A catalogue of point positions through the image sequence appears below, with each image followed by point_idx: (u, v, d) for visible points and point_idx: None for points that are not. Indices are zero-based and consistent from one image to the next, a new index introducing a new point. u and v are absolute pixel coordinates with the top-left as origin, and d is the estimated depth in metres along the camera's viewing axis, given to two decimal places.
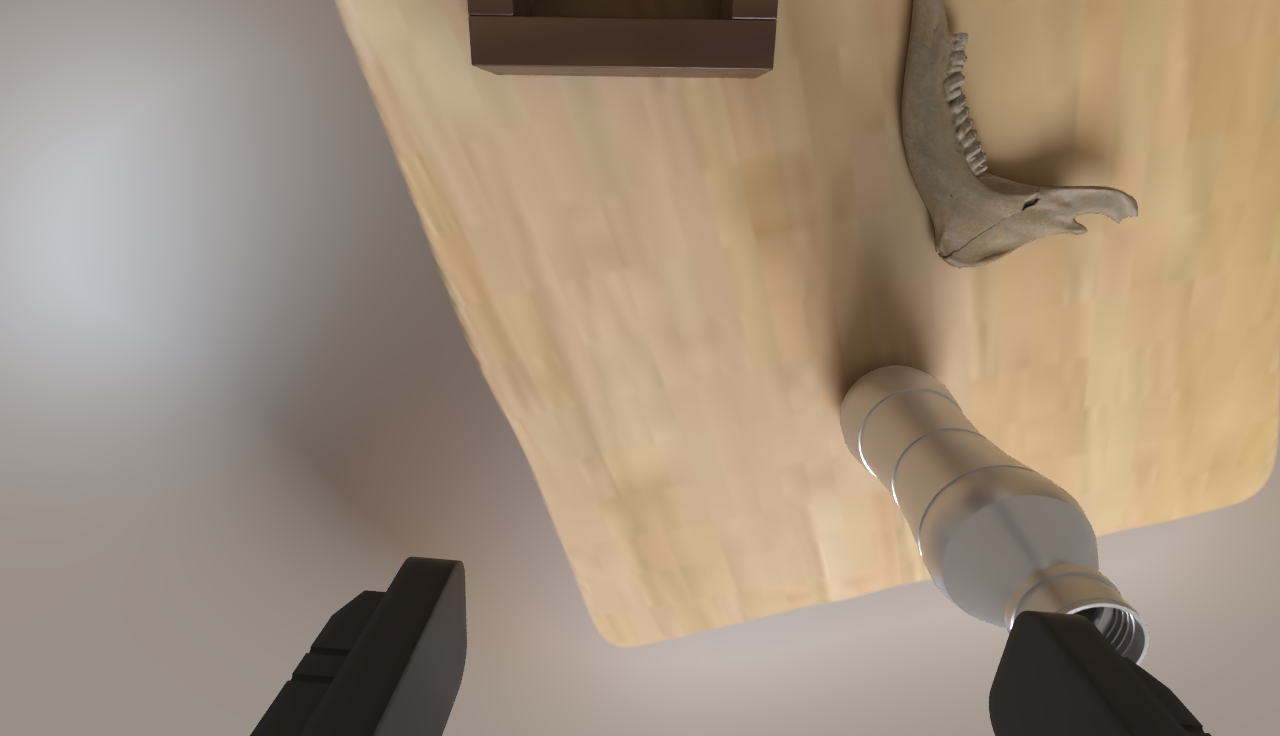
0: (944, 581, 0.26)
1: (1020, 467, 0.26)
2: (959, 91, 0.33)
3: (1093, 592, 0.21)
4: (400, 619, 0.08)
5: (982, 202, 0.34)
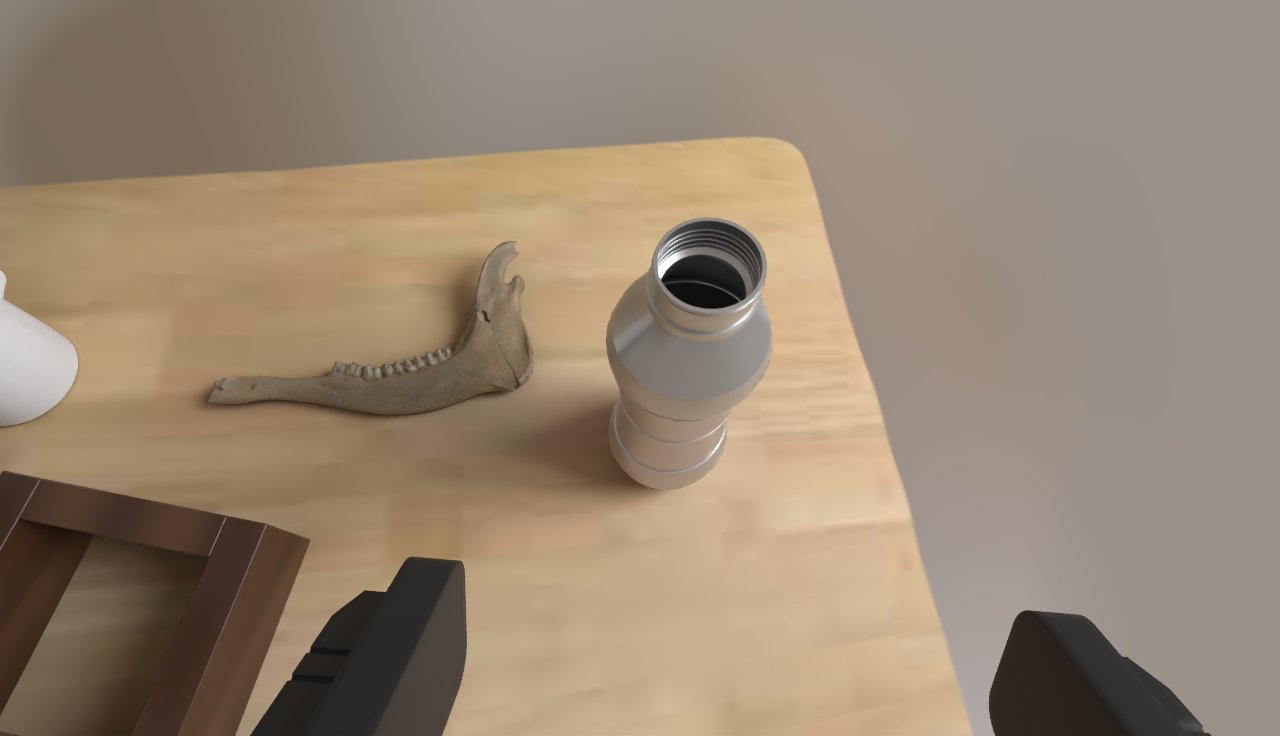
0: (706, 398, 0.23)
1: None
2: (375, 368, 0.39)
3: (651, 264, 0.21)
4: (400, 619, 0.08)
5: (473, 352, 0.39)
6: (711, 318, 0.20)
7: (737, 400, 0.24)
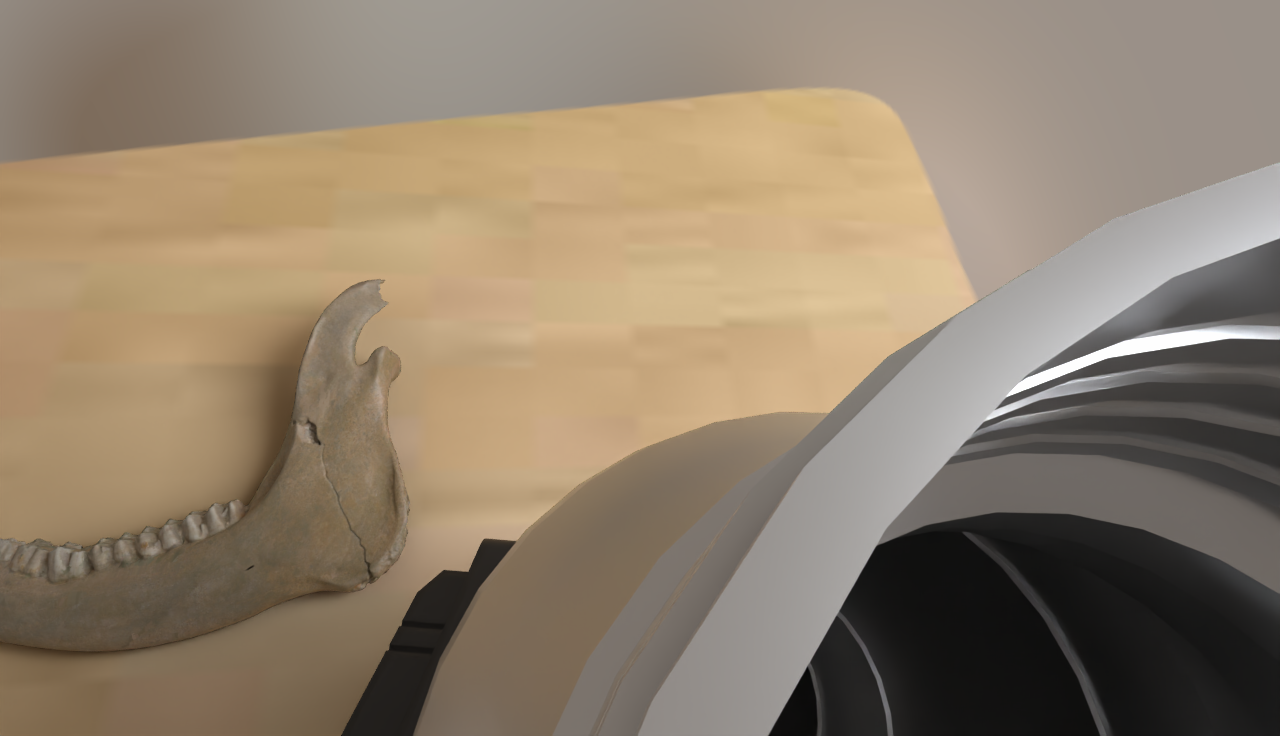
0: None
1: None
2: (74, 554, 0.19)
3: None
4: None
5: (280, 512, 0.19)
6: None
7: None
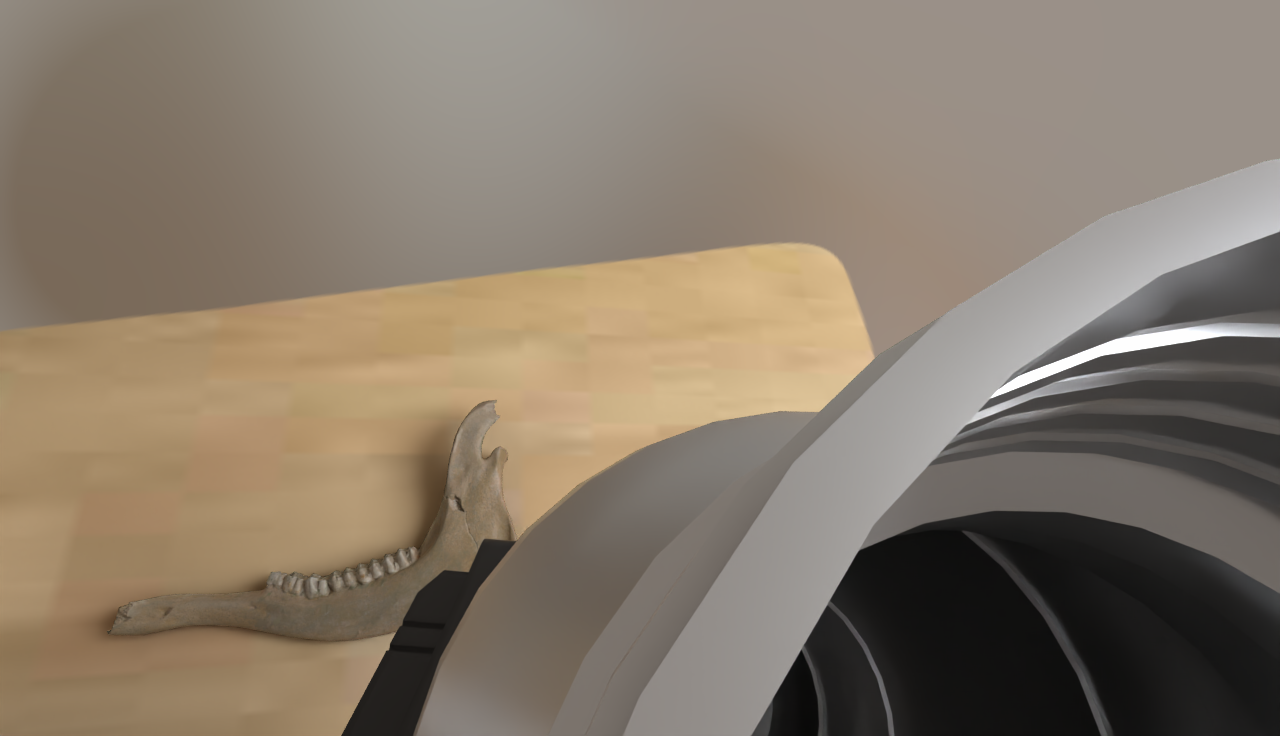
0: None
1: None
2: (321, 581, 0.31)
3: None
4: None
5: (443, 555, 0.31)
6: None
7: None
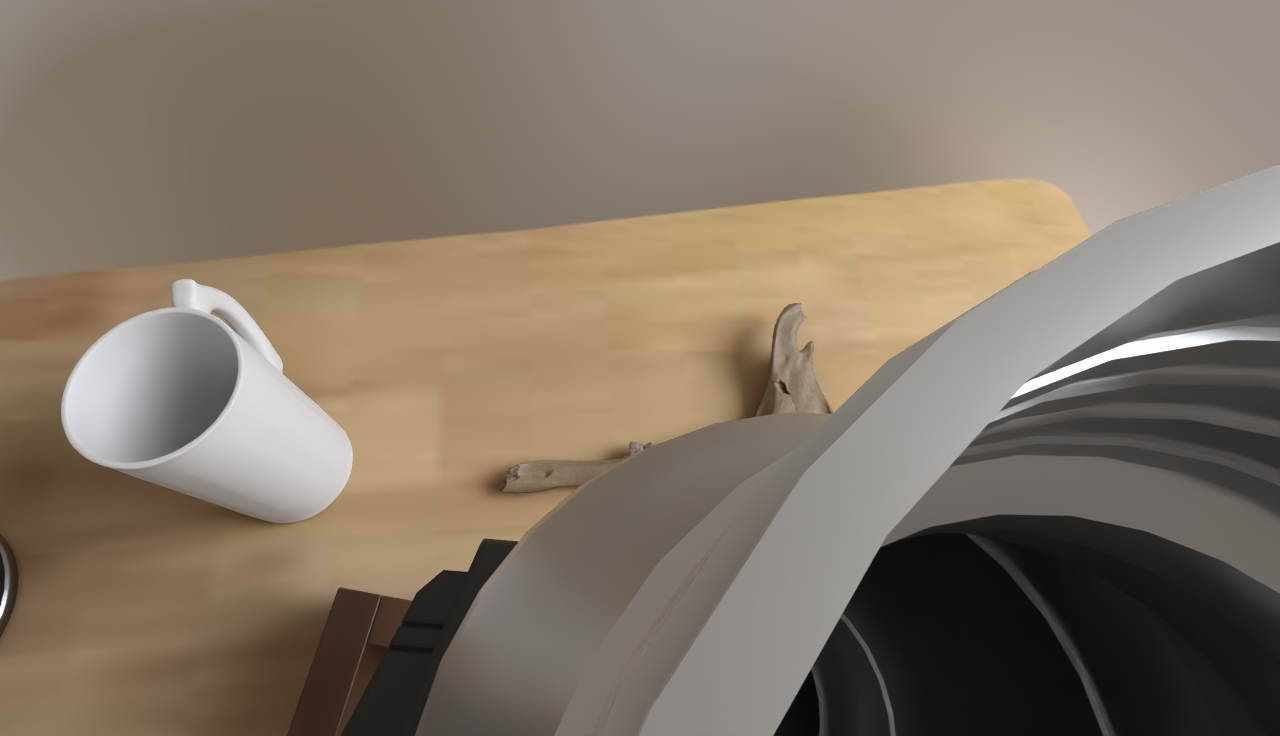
0: None
1: None
2: None
3: None
4: None
5: None
6: None
7: None
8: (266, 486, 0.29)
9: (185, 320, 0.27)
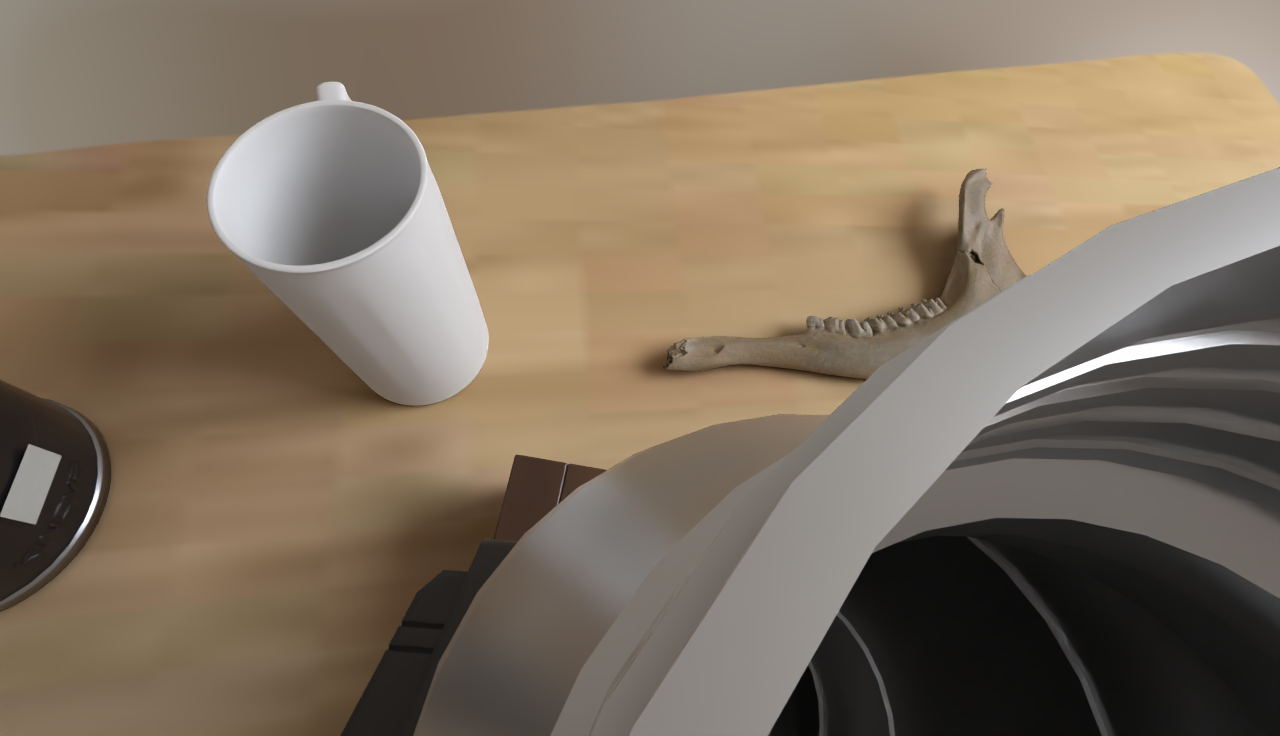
0: None
1: None
2: (864, 323, 0.31)
3: None
4: None
5: (978, 301, 0.31)
6: None
7: None
8: (424, 337, 0.25)
9: (343, 119, 0.22)
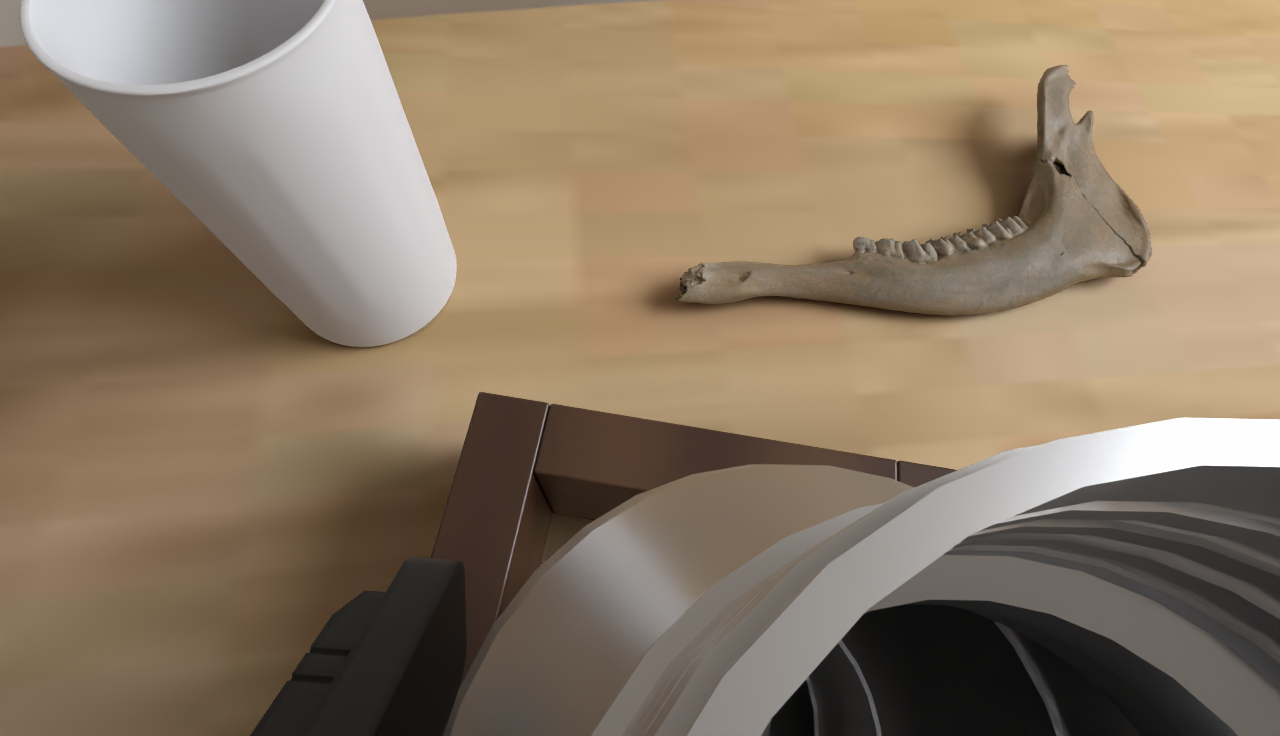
0: None
1: None
2: (927, 244, 0.25)
3: None
4: (400, 619, 0.08)
5: (1067, 218, 0.25)
6: None
7: None
8: (358, 238, 0.18)
9: None
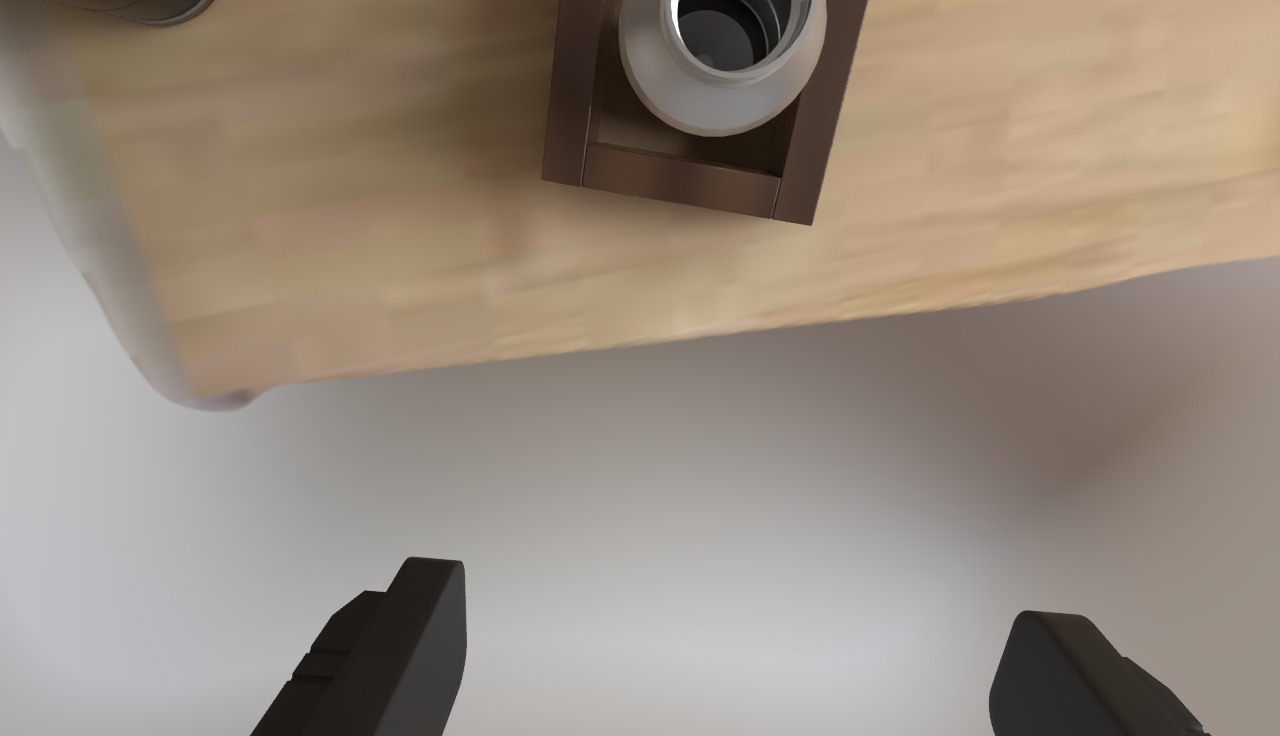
0: (735, 126, 0.21)
1: None
2: None
3: None
4: (400, 619, 0.08)
5: None
6: (738, 81, 0.16)
7: (772, 117, 0.21)
8: None
9: None
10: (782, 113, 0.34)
